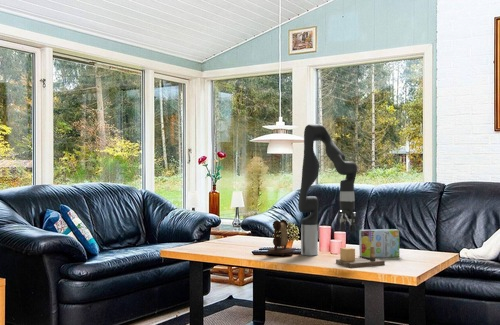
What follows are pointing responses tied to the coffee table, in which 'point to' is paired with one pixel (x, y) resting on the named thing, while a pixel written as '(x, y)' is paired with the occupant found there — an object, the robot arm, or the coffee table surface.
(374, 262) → the board
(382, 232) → the snack box
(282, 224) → the brown upright piece
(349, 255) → the tan wooden block
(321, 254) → the coffee table surface
